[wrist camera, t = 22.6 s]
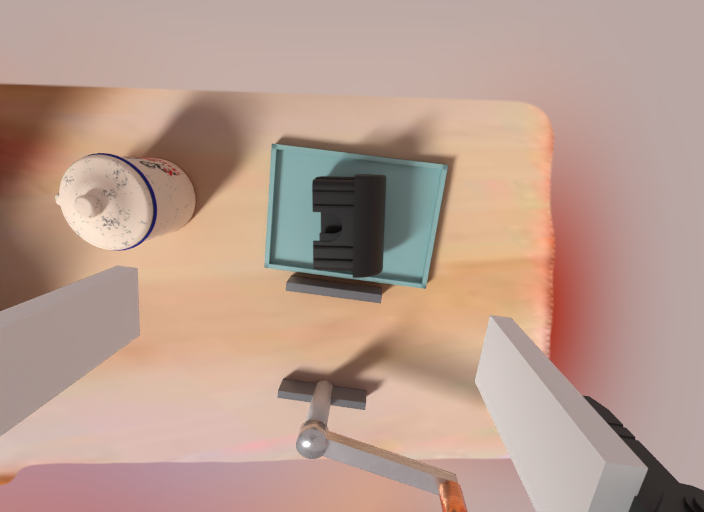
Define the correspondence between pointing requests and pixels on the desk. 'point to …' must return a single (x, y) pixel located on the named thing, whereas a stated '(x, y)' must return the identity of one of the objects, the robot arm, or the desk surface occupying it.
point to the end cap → (350, 223)
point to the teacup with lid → (124, 199)
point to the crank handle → (380, 463)
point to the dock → (324, 390)
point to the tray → (400, 211)
